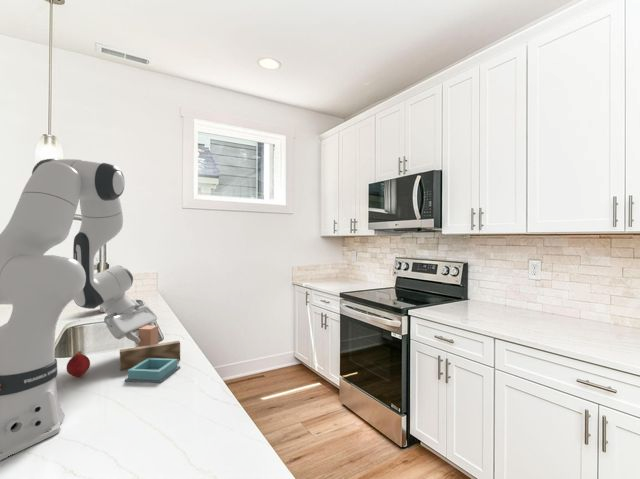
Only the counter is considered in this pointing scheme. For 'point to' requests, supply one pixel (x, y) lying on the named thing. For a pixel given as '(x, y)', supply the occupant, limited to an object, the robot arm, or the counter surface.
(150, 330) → the block
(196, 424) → the counter surface
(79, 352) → the onion
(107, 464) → the counter surface
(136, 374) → the tray
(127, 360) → the walnut board
